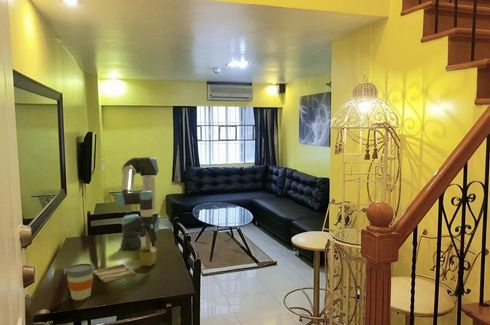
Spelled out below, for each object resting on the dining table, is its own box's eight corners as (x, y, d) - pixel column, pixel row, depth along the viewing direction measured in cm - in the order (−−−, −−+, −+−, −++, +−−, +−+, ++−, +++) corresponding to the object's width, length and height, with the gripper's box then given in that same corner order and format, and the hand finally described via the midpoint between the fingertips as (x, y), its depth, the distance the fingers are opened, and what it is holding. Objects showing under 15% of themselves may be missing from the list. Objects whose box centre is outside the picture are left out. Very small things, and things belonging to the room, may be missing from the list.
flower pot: (157, 262, 244) (157, 248, 243) (153, 267, 235) (152, 253, 234) (144, 262, 244) (143, 248, 244) (139, 267, 236) (138, 252, 235)
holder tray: (93, 273, 227) (93, 270, 227) (123, 266, 238) (123, 263, 238) (104, 282, 213) (104, 279, 213) (135, 274, 224) (135, 271, 224)
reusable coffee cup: (76, 290, 202) (74, 263, 201) (98, 291, 201) (97, 263, 200) (62, 301, 190) (60, 271, 189) (86, 302, 189) (85, 272, 187)
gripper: (133, 213, 244) (134, 246, 246) (149, 219, 225) (151, 255, 226) (144, 212, 249) (145, 244, 251) (161, 217, 230) (162, 252, 231)
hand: (148, 249), depth 238 cm, fingers open, 13 cm apart
